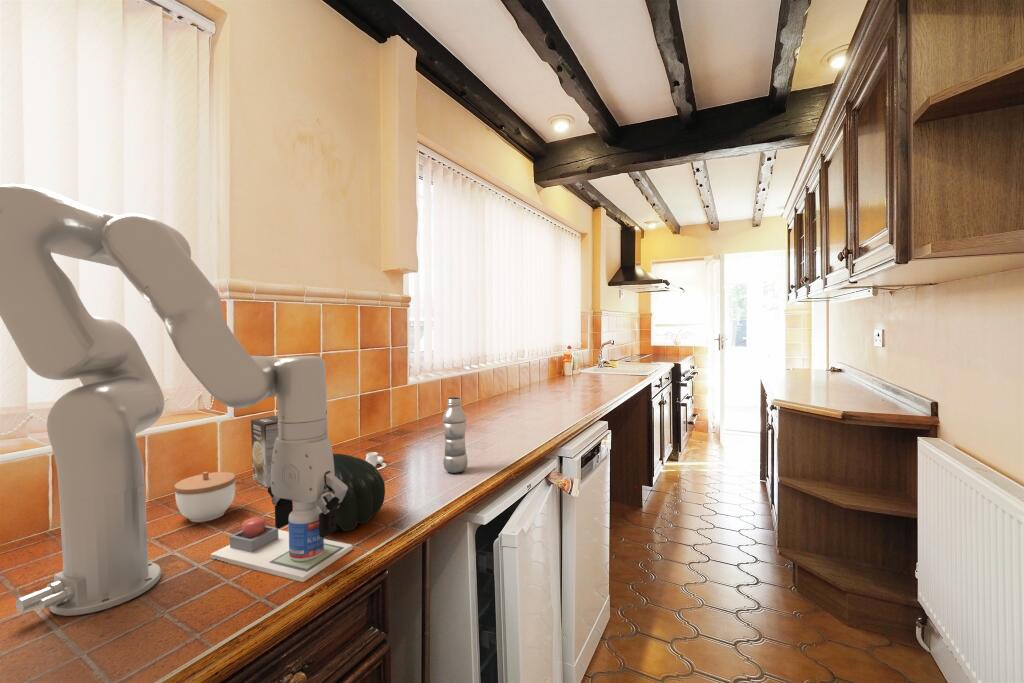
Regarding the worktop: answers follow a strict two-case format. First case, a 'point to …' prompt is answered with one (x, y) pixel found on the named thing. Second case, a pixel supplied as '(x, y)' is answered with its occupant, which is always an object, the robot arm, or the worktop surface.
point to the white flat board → (277, 554)
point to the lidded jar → (205, 495)
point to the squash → (357, 491)
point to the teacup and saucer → (375, 459)
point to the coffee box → (263, 446)
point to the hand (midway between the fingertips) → (305, 529)
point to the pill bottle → (305, 532)
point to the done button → (253, 526)
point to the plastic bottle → (454, 436)
